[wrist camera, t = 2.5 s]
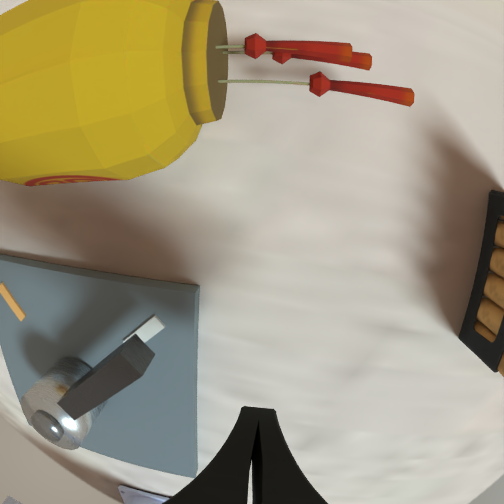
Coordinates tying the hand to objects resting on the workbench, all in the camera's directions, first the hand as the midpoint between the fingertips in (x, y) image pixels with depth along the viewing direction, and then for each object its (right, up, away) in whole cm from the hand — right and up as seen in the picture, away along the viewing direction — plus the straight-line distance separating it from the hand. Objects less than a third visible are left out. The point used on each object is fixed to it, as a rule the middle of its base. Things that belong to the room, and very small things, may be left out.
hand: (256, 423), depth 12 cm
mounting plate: (-13, -3, +9) cm, 16 cm away
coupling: (-10, -1, +7) cm, 13 cm away
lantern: (-8, +16, +4) cm, 19 cm away
